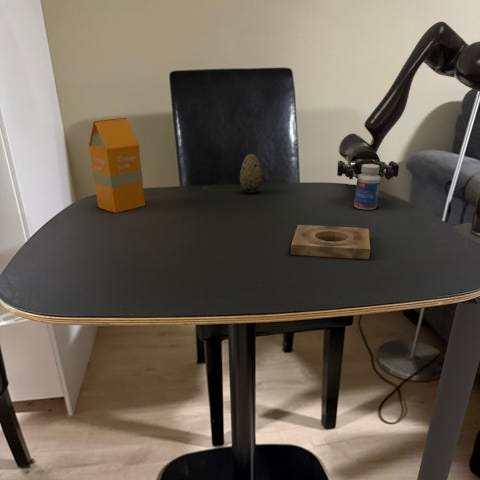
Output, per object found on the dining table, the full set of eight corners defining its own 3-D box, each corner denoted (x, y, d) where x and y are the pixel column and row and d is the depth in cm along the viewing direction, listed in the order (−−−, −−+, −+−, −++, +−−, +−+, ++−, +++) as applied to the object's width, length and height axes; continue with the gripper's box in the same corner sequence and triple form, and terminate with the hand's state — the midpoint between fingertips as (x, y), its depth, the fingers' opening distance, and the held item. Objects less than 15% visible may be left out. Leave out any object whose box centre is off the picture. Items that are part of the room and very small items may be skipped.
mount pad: (367, 237, 96) (368, 228, 95) (369, 259, 85) (370, 249, 84) (297, 234, 98) (297, 224, 97) (290, 254, 88) (291, 244, 87)
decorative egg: (237, 194, 128) (237, 155, 123) (242, 189, 133) (242, 151, 128) (259, 195, 127) (260, 156, 122) (263, 190, 132) (264, 152, 127)
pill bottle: (351, 208, 114) (355, 166, 110) (356, 203, 119) (361, 162, 114) (374, 211, 112) (380, 168, 108) (379, 205, 117) (384, 164, 112)
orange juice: (145, 205, 119) (136, 118, 110) (115, 213, 114) (102, 122, 104) (127, 200, 124) (116, 116, 114) (97, 207, 118) (83, 119, 109)
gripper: (389, 177, 125) (399, 191, 111) (333, 176, 127) (337, 190, 113) (393, 146, 122) (404, 158, 107) (336, 146, 123) (340, 157, 109)
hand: (370, 175), depth 110 cm, fingers open, 8 cm apart
